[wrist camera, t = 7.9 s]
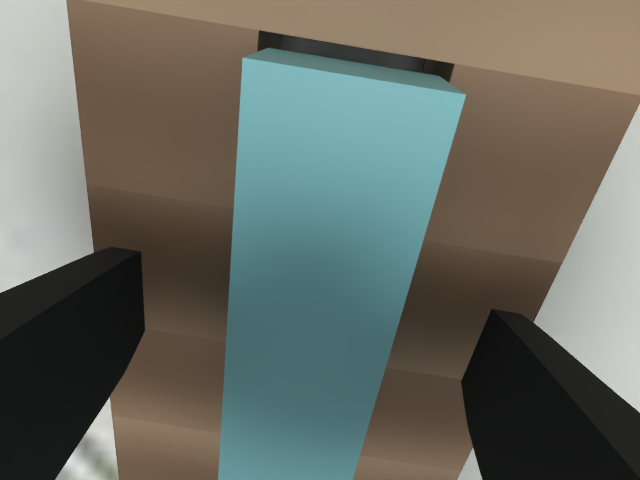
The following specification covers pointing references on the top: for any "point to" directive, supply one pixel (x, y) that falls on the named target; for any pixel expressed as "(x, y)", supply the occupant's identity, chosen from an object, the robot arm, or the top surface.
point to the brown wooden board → (444, 224)
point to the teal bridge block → (323, 253)
